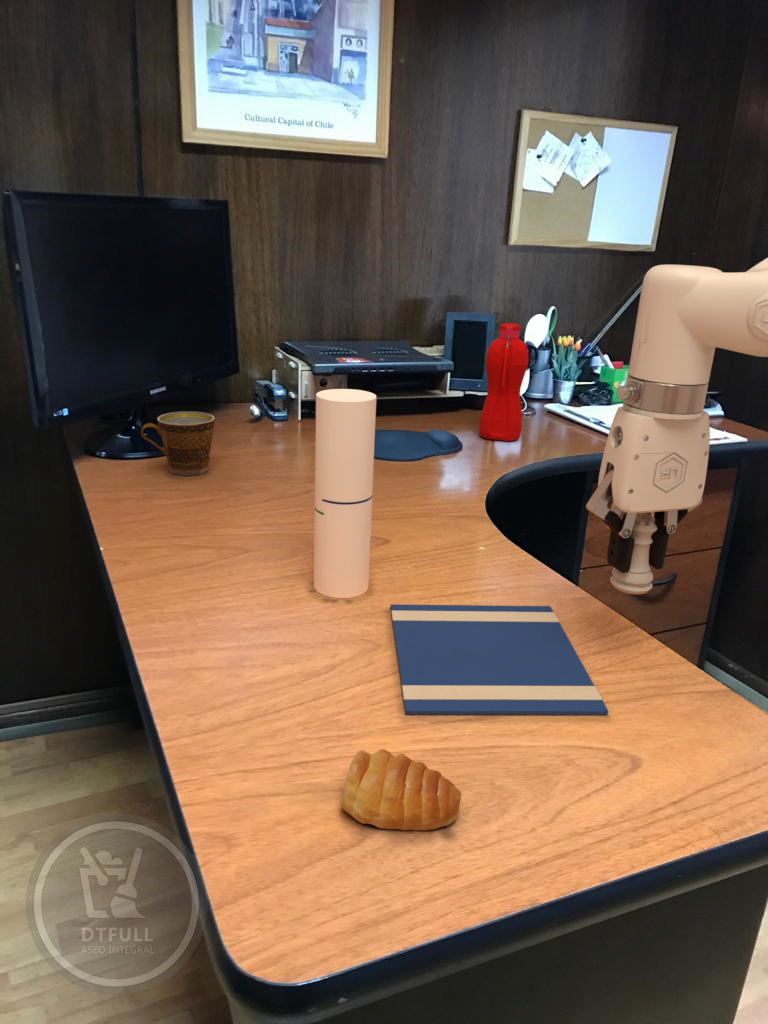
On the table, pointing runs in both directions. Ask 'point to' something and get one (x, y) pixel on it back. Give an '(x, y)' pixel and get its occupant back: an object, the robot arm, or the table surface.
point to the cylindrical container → (343, 491)
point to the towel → (489, 662)
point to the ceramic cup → (185, 441)
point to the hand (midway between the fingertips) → (634, 564)
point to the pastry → (398, 793)
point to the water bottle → (504, 385)
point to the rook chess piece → (637, 559)
